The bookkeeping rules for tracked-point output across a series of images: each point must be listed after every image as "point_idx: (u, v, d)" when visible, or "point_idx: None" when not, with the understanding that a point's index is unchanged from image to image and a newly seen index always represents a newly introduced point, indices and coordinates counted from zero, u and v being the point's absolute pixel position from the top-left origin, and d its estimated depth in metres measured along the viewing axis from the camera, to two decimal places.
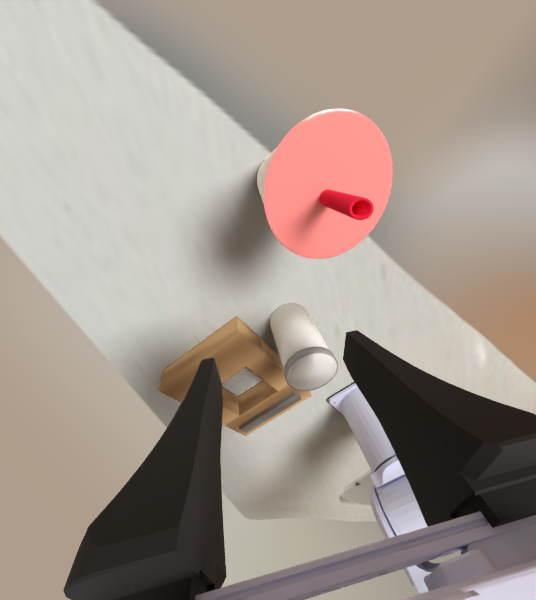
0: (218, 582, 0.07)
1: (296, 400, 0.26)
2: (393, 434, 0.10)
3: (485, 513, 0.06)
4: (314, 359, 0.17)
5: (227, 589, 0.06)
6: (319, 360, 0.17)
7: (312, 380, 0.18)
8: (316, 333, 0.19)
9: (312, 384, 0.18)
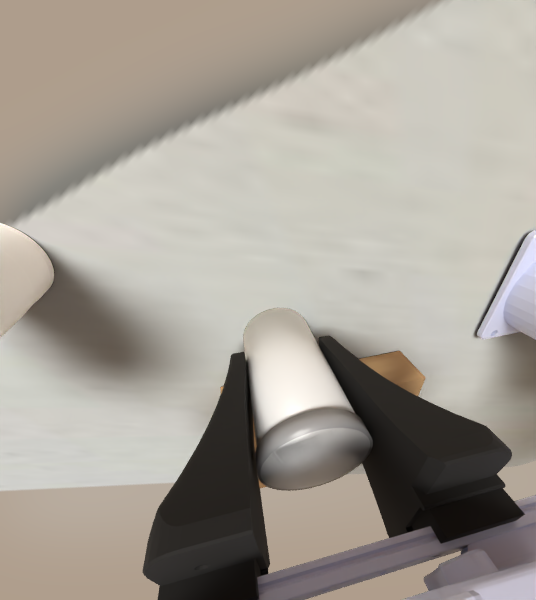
0: None
1: None
2: None
3: (433, 527, 0.06)
4: (284, 457, 0.07)
5: None
6: (296, 451, 0.07)
7: (337, 462, 0.08)
8: (279, 373, 0.09)
9: (348, 462, 0.09)
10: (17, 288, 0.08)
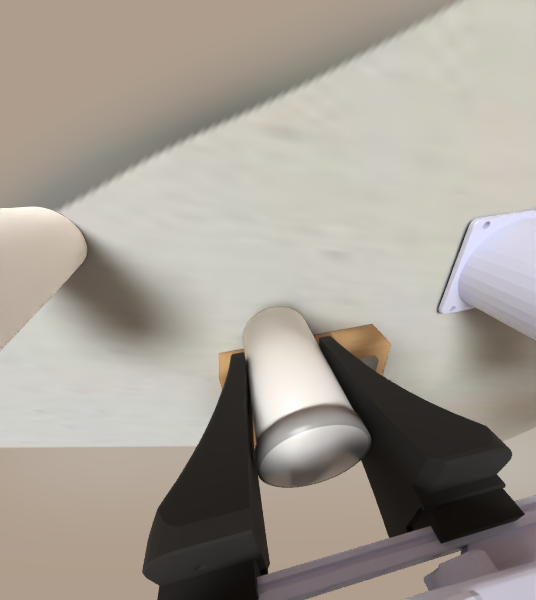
0: None
1: (374, 364, 0.18)
2: None
3: (434, 528, 0.06)
4: (284, 454, 0.08)
5: None
6: (295, 448, 0.07)
7: (336, 459, 0.08)
8: (278, 372, 0.09)
9: (347, 459, 0.09)
10: (66, 256, 0.11)
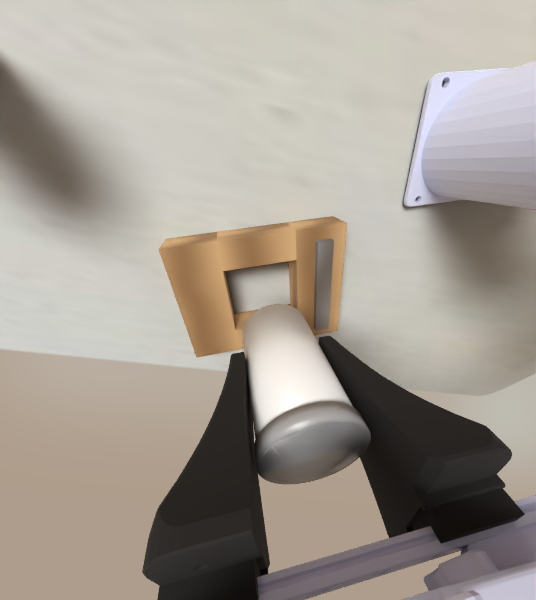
0: None
1: (329, 247, 0.17)
2: None
3: (433, 527, 0.06)
4: (282, 451, 0.08)
5: None
6: (293, 444, 0.07)
7: (336, 455, 0.08)
8: (276, 369, 0.09)
9: (348, 455, 0.09)
10: None
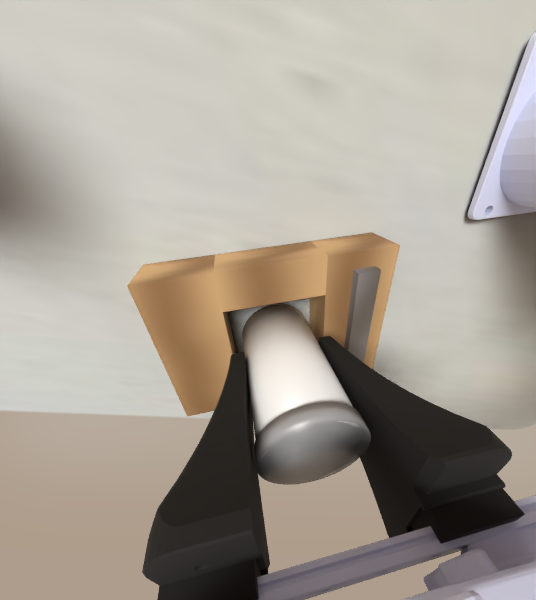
0: None
1: (374, 278, 0.12)
2: None
3: (434, 528, 0.06)
4: (282, 451, 0.08)
5: None
6: (293, 445, 0.07)
7: (336, 455, 0.08)
8: (276, 369, 0.09)
9: (348, 455, 0.09)
10: None
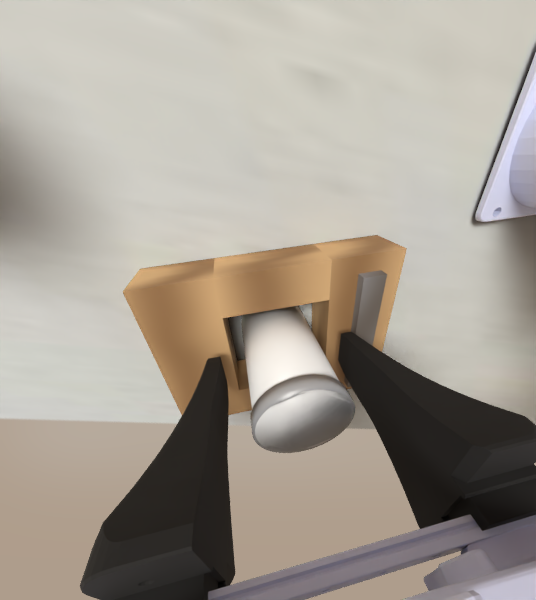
0: (227, 579, 0.07)
1: (380, 283, 0.11)
2: (386, 436, 0.10)
3: (474, 515, 0.06)
4: (275, 418, 0.09)
5: (227, 589, 0.06)
6: (284, 412, 0.08)
7: (324, 424, 0.09)
8: (271, 349, 0.10)
9: (334, 425, 0.10)
10: None
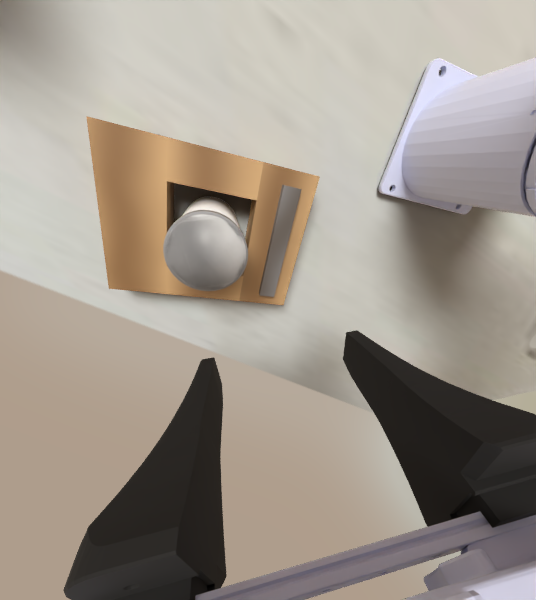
0: (218, 582, 0.07)
1: (295, 196, 0.15)
2: (393, 434, 0.10)
3: (484, 513, 0.06)
4: (184, 235, 0.11)
5: (227, 589, 0.06)
6: (192, 232, 0.11)
7: (222, 264, 0.12)
8: (198, 206, 0.13)
9: (231, 270, 0.12)
10: None
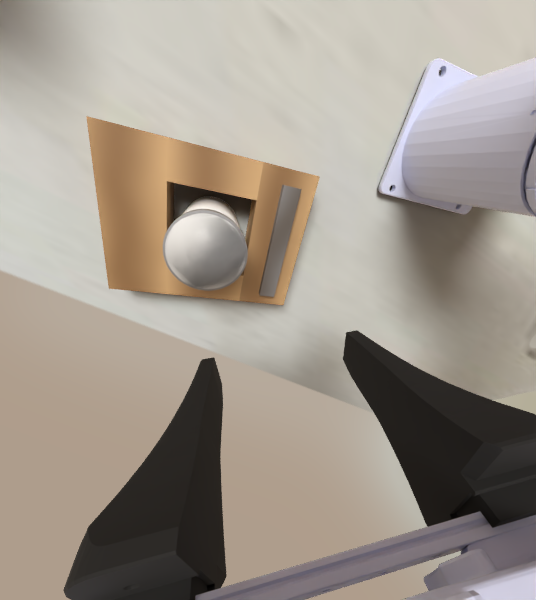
0: (218, 582, 0.07)
1: (295, 196, 0.15)
2: (393, 434, 0.10)
3: (484, 513, 0.06)
4: (183, 235, 0.11)
5: (227, 589, 0.06)
6: (192, 231, 0.11)
7: (222, 264, 0.12)
8: (197, 206, 0.13)
9: (231, 269, 0.12)
10: None
